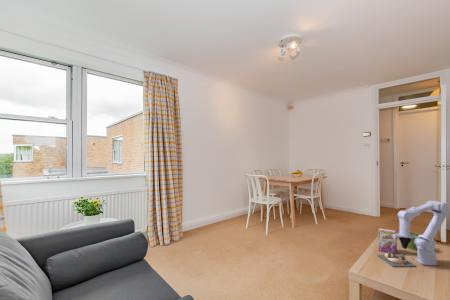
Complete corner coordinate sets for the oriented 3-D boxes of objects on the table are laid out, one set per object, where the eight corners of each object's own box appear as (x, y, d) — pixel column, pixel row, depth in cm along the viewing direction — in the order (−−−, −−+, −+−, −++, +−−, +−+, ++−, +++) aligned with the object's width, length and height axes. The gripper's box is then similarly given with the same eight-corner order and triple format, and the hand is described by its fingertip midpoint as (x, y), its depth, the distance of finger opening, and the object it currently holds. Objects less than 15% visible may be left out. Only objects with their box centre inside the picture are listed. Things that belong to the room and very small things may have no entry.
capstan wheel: (411, 263, 143) (411, 255, 143) (394, 264, 142) (394, 256, 142) (395, 254, 155) (395, 247, 155) (380, 255, 154) (380, 247, 154)
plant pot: (407, 250, 164) (407, 236, 164) (400, 244, 175) (399, 230, 175) (426, 252, 161) (426, 238, 161) (417, 245, 172) (417, 232, 172)
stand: (397, 255, 156) (397, 254, 156) (415, 267, 141) (415, 265, 141) (377, 255, 156) (377, 254, 156) (392, 267, 141) (392, 265, 141)
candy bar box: (378, 250, 164) (378, 229, 164) (378, 248, 168) (378, 227, 168) (397, 254, 158) (397, 232, 158) (396, 251, 162) (396, 230, 162)
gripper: (410, 226, 150) (410, 245, 150) (389, 226, 150) (389, 245, 150) (419, 230, 143) (419, 250, 143) (397, 230, 143) (397, 250, 143)
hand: (404, 248), depth 146 cm, fingers closed
